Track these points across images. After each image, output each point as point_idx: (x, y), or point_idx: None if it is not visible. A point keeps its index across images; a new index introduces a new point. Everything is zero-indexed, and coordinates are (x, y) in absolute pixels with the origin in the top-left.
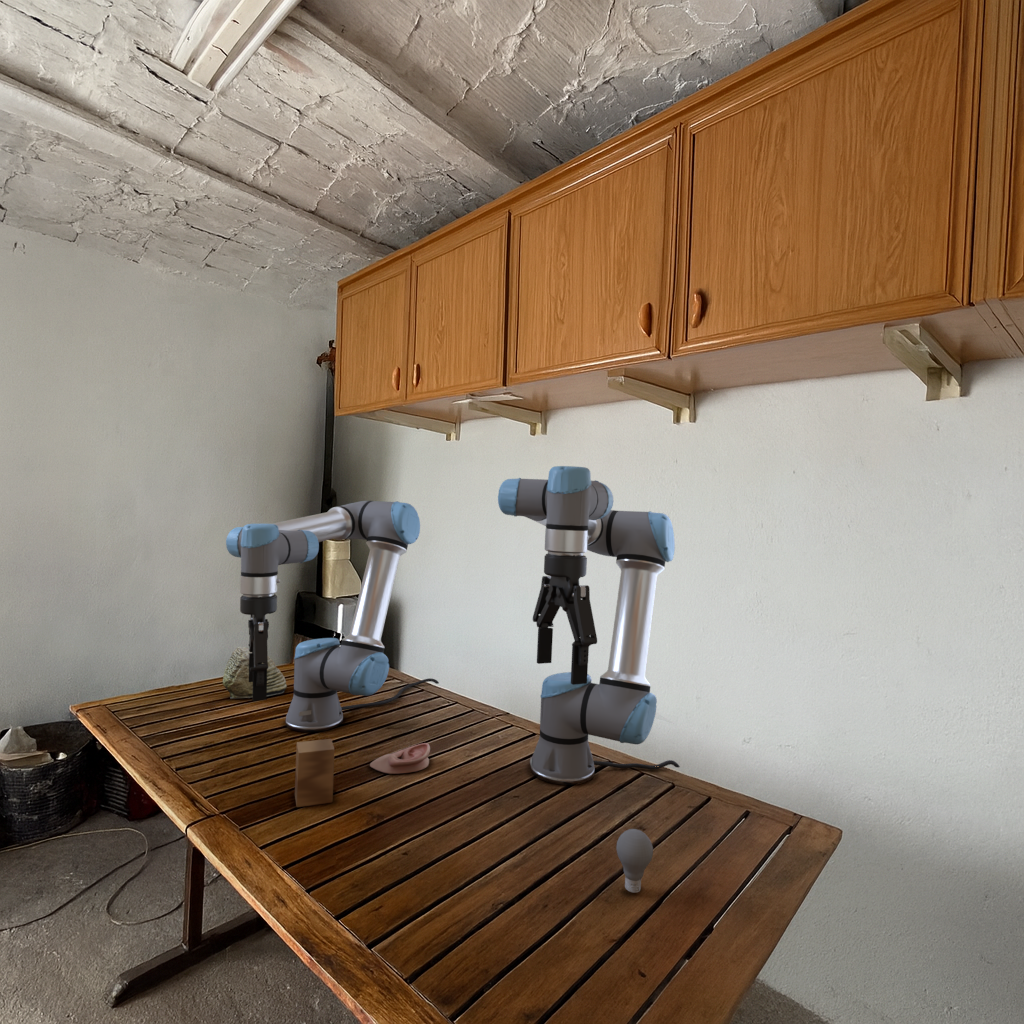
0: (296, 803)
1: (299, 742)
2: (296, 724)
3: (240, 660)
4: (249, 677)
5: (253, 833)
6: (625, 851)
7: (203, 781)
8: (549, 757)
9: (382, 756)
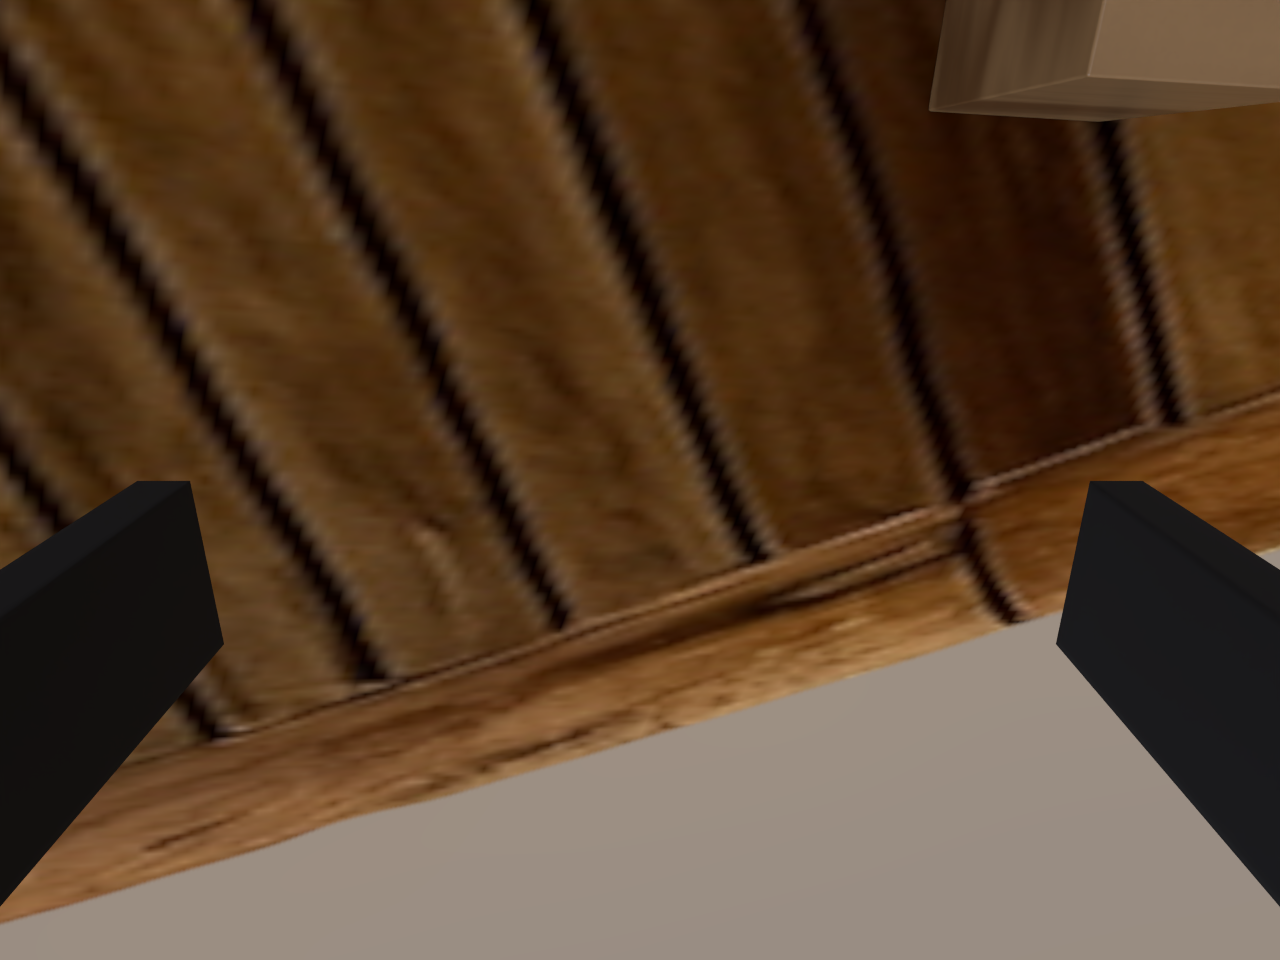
0: (1092, 120)
1: (1107, 48)
2: None
3: None
4: (186, 678)
5: (1251, 368)
6: None
7: (562, 567)
8: None
9: None
